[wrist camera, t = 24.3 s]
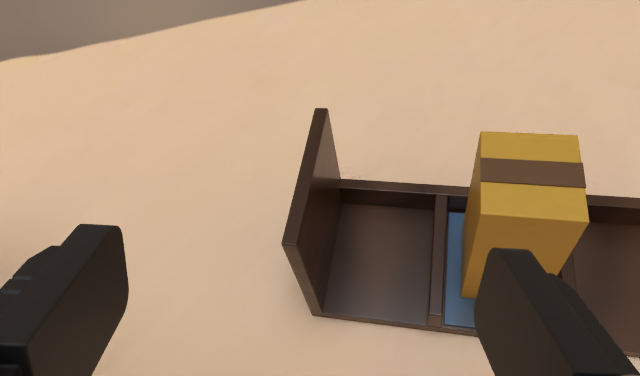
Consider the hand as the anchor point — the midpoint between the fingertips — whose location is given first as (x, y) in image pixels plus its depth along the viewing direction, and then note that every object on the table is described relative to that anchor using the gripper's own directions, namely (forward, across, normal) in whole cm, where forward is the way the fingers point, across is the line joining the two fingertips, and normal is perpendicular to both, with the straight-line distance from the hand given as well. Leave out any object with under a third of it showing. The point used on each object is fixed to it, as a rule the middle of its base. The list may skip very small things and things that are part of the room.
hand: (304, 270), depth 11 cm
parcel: (+17, -13, +11) cm, 24 cm away
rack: (+18, -13, +12) cm, 25 cm away
